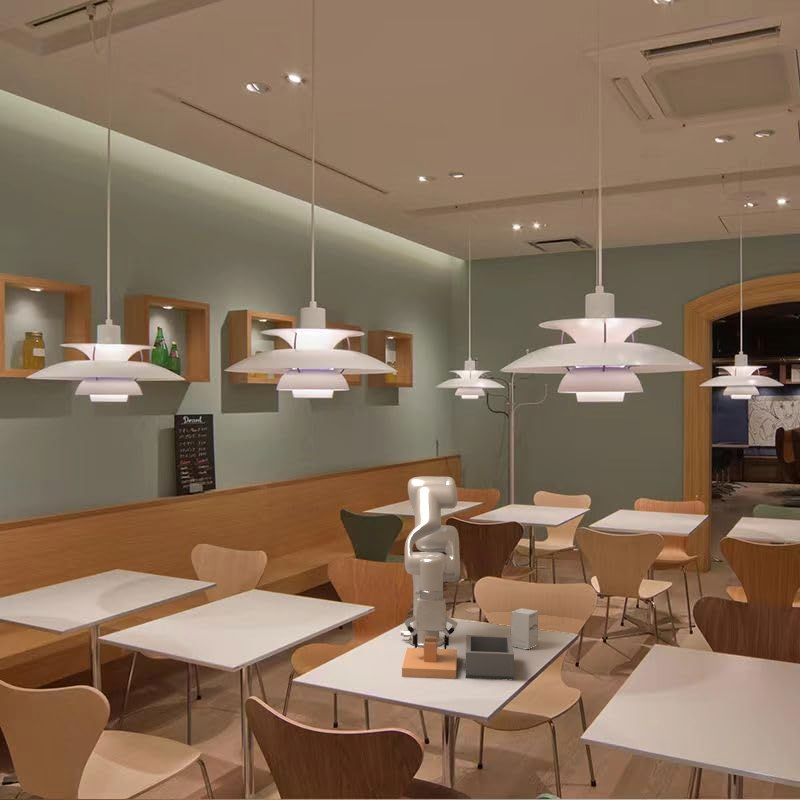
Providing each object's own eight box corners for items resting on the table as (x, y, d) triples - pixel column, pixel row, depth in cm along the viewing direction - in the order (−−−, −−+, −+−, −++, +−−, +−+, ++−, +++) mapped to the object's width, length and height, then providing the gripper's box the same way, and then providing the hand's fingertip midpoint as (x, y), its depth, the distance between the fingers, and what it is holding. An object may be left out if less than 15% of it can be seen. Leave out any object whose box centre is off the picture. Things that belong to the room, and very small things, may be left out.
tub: (465, 678, 259) (465, 652, 259) (466, 658, 279) (466, 634, 279) (513, 679, 258) (514, 654, 258) (510, 660, 278) (511, 636, 278)
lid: (401, 676, 260) (402, 648, 260) (407, 655, 282) (407, 630, 282) (455, 678, 259) (456, 650, 259) (457, 657, 281) (457, 631, 281)
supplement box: (528, 650, 289) (529, 614, 289) (510, 646, 294) (510, 611, 294) (538, 645, 295) (538, 610, 295) (520, 642, 300) (520, 607, 300)
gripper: (404, 596, 268) (403, 649, 267) (457, 598, 266) (457, 651, 266) (405, 591, 275) (405, 643, 275) (458, 593, 273) (457, 645, 273)
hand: (430, 647), depth 270 cm, fingers open, 9 cm apart
